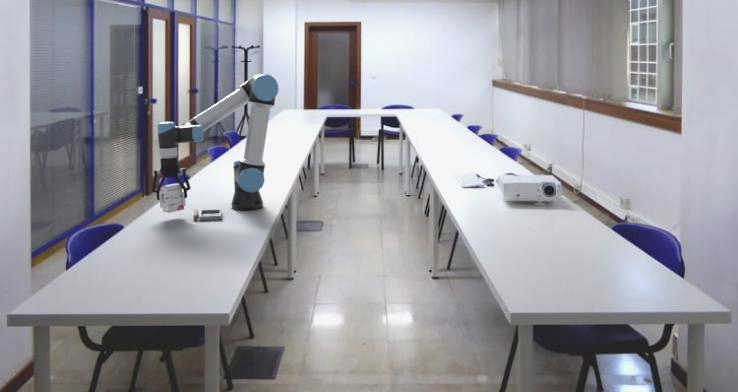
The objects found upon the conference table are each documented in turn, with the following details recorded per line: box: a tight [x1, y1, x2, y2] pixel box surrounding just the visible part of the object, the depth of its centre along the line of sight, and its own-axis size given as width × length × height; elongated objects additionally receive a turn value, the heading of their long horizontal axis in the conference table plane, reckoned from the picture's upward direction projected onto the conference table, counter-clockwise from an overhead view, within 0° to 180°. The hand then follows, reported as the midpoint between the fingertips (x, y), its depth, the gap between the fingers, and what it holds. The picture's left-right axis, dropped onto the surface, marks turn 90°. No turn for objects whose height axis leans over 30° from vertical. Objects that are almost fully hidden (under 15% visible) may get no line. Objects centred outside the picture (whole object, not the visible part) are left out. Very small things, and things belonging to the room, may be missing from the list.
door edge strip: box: [192, 209, 199, 222], centre depth 322 cm, size 2×12×2 cm, turn 11°
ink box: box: [160, 183, 185, 214], centre depth 320 cm, size 9×5×12 cm, turn 141°
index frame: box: [198, 208, 222, 222], centre depth 323 cm, size 10×14×2 cm
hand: (172, 206), depth 320 cm, fingers closed on ink box, 9 cm apart
